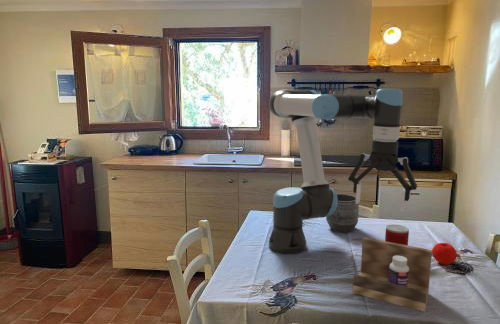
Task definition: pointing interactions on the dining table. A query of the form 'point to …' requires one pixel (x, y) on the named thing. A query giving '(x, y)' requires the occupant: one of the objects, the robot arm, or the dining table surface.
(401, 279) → the pill bottle
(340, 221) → the planter
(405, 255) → the cleat board
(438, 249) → the apple
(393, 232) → the canned food
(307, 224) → the dining table surface
